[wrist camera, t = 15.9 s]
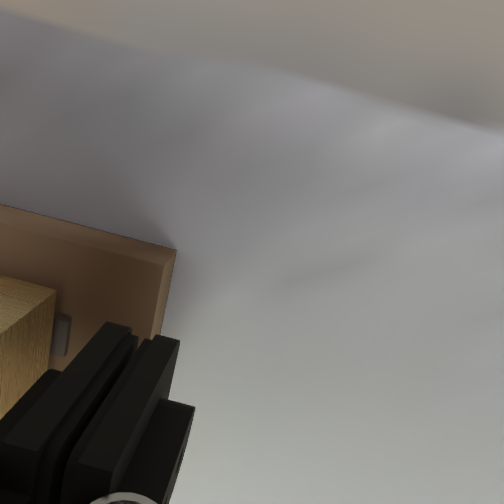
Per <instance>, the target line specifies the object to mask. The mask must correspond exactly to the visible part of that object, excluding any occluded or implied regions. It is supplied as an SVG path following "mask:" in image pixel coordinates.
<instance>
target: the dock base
mask: <svg viewBox="0 0 504 504" xmlns="http://www.w3.org/2000/svg"><path fill="white" fill-rule="evenodd" d="M176 251H177V250H173V249H169V248H165V247H162V246H158V245H154V244H150V243H146V242H142V241H139V240H135V239H131V238H127V237H123V236H119V235H116V234H112V233H108V232H104V231H100V230H96V229H93V228H89V227H85V226H81V225H77V224H73V223H70V222H66V221H62V220H58V219H54V218H50V217H46V216H43V215H39V214H35V213H31V212H27V211H23V210H20V209H16V208H12V207H8V206H4V205H0V275H2V276H6V277H10V278H13V279H17V280H21V281H25V282H29V283H32V284H36V285H40V286H44V287H48V288H51V289H55V290H57V294H56V303H55V311H54V320H53V328H52V337H51V345H50V354H49V363H48V369H55V370H59V371H63V370H64V369H65V368H66V367H67V366H68V365H69V364H70V362H71V361H72V360H73V359H74V358H75V357H76V355H77V354H78V353H79V352H80V351H81V350H82V349H83V347H84V346H85V345H86V344H87V343H88V342H89V341H90V339H91V338H92V337H93V336H94V335H95V334H96V333H97V331H98V330H99V329H100V328H101V327H102V326H103V324H104V323H105V322H107V321H108V322H112V323H116V324H120V325H123V326H127V327H131V328H132V335H136V336H138V337H139V341H138V347H139V346H140V344H141V343H142V341H143V340H144V339H145V338H147V339H151V340H152V339H153V338H154V336H155V335H156V334H157V335H160V332H161V327H162V322H163V316H164V311H165V306H166V301H167V296H168V291H169V286H170V281H171V276H172V271H173V266H174V261H175V256H176ZM138 347H137V349H138Z"/></svg>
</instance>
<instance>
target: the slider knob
mask: <svg viewBox="0 0 504 504" xmlns="http://www.w3.org/2000/svg"><path fill="white" fill-rule="evenodd" d="M56 294H57V290H55V289H51V288H48V287H44V286H40V285H36V284H32V283H29V282H25V281H21V280H17V279H13V278H10V277H6V276H2V275H0V420H1V418H2V417H3V416H4V415H5V414H6V413H7V412H8V411H9V410H10V409H11V408H12V407H13V406H14V405H15V403H16V402H17V401H18V400H19V399H20V398H21V397H22V396H23V395H24V394H25V393H26V392H27V391H28V390H29V388H30V387H31V386H32V385H33V384H34V383H35V382H36V381H37V380H38V379H39V378H40V377H41V376H42V375H43V374H44V373H45V372H46V371H47V370H48V363H49V354H50V345H51V337H52V328H53V320H54V311H55V303H56Z"/></svg>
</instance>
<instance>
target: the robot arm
mask: <svg viewBox="0 0 504 504" xmlns="http://www.w3.org/2000/svg"><path fill="white" fill-rule="evenodd" d="M138 341H139V337H138V336H136V335H132V328H131V327H127V326H123V325H120V324H116V323H112V322H108V321H107V322H105V323H104V324H103V326H102V327H101V328H100V329H99V330H98V331H97V333H96V334H95V335H94V336H93V337H92V338H91V339H90V341H89V342H88V343H87V344H86V345H85V346H84V347H83V349H82V350H81V351H80V352H79V353H78V354H77V355H76V357H75V358H74V359H73V360H72V361H71V362H70V364H69V365H68V366H67V367H66V368H65V369H64V370H63V371H59V370H55V369H48V370H47V371H46V372H45V373H44V374H43V375H42V376H41V377H40V378H39V379H38V380H37V381H36V382H35V383H34V384H33V385H32V386H31V387H30V388H29V390H28V391H27V392H26V393H25V394H24V395H23V396H22V397H21V398H20V399H19V400H18V401H17V402H16V403H15V405H14V406H13V407H12V408H11V409H10V410H9V411H8V412H7V413H6V414H5V415H4V416H3V417H2V418H1V420H0V504H169V501H170V498H171V495H172V492H173V489H174V486H175V482H176V479H177V476H178V473H179V470H180V466H181V463H182V460H183V456H184V452H185V449H186V445H187V441H188V437H189V433H190V429H191V425H192V421H193V417H194V412H195V407H194V406H190V405H186V404H182V403H179V402H175V401H171V400H168V396H169V392H170V387H171V383H172V378H173V373H174V369H175V364H176V360H177V355H178V351H179V345H180V340H176V339H172V338H169V337H165V336H161V335H157V334H156V335H155V336H154V338H153V339H152V340H151V339H147V338H145V339H144V340H143V341H142V343H141V344H140V346H139V347H138ZM137 347H138V349H137Z"/></svg>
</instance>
